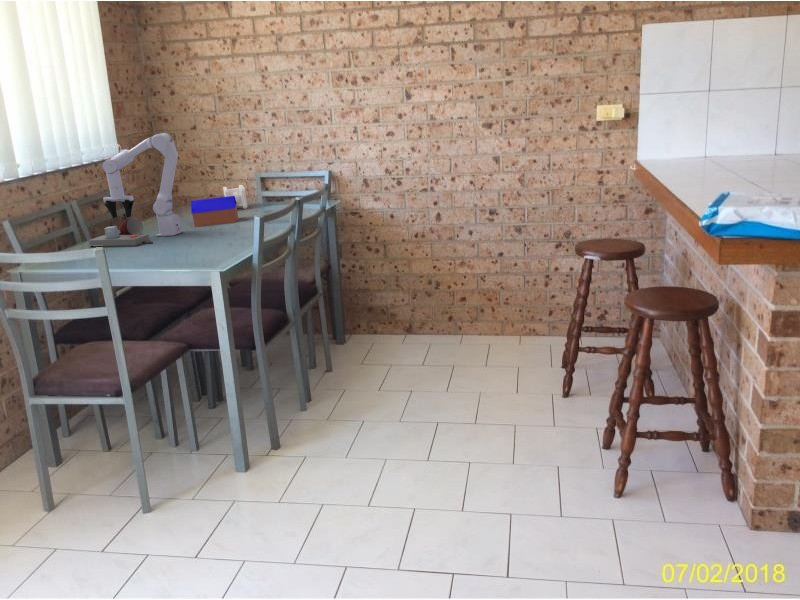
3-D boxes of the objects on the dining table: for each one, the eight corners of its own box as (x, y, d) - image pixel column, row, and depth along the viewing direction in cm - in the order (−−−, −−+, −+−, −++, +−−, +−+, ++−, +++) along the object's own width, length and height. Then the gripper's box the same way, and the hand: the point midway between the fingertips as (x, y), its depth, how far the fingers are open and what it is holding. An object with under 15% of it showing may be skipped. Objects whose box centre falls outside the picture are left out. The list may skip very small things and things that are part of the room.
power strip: (159, 240, 319) (157, 232, 318) (146, 245, 311) (144, 237, 310) (104, 242, 328) (102, 234, 327) (90, 247, 320) (88, 238, 319)
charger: (120, 241, 323) (116, 225, 321) (116, 243, 319) (113, 227, 317) (110, 242, 323) (107, 226, 321) (107, 244, 319) (104, 228, 317)
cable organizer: (226, 208, 391) (222, 186, 388) (246, 205, 394) (242, 183, 390) (227, 212, 377) (224, 189, 374) (248, 209, 380) (245, 186, 376)
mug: (122, 245, 339) (133, 243, 333) (108, 233, 335) (119, 231, 328) (134, 228, 344) (146, 225, 338) (121, 216, 340) (132, 213, 333)
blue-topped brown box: (237, 222, 347) (233, 197, 343) (193, 227, 344) (189, 202, 341) (239, 218, 358) (235, 193, 355) (196, 223, 356) (192, 198, 352)
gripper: (135, 184, 328) (141, 215, 331) (108, 186, 332) (114, 216, 336) (125, 187, 321) (131, 218, 325) (97, 188, 326) (104, 219, 330)
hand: (122, 217), depth 330 cm, fingers open, 7 cm apart
